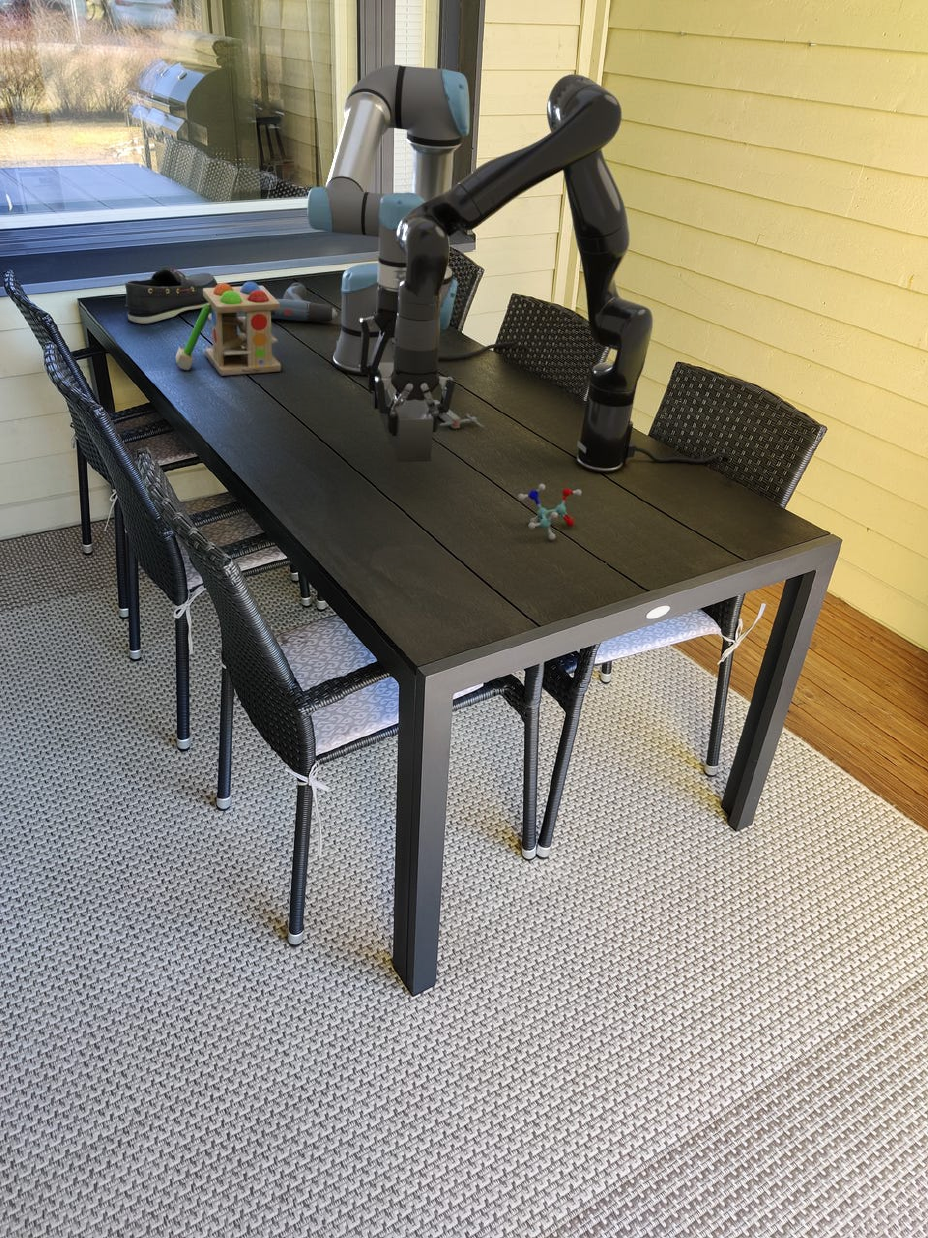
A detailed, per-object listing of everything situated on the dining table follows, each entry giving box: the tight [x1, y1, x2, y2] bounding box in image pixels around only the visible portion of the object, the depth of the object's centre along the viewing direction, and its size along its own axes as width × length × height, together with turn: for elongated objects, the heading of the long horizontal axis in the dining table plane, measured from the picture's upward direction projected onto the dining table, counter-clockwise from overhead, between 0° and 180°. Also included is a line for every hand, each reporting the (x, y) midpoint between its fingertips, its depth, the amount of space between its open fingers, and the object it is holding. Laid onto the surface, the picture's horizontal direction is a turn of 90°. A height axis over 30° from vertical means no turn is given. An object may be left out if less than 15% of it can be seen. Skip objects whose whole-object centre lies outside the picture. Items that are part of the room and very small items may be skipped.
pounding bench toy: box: [174, 281, 282, 377], centre depth 225 cm, size 23×14×18 cm, turn 116°
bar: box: [377, 363, 434, 463], centre depth 182 cm, size 27×6×8 cm, turn 13°
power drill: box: [271, 282, 338, 322], centre depth 265 cm, size 5×19×20 cm
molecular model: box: [517, 483, 582, 541], centre depth 175 cm, size 12×10×10 cm
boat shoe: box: [124, 266, 218, 324], centre depth 259 cm, size 13×33×10 cm, turn 147°
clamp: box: [425, 399, 486, 430], centre depth 213 cm, size 15×2×10 cm
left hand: (392, 405), depth 192 cm, fingers closed on bar, 6 cm apart
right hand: (411, 433), depth 174 cm, fingers closed on bar, 6 cm apart
